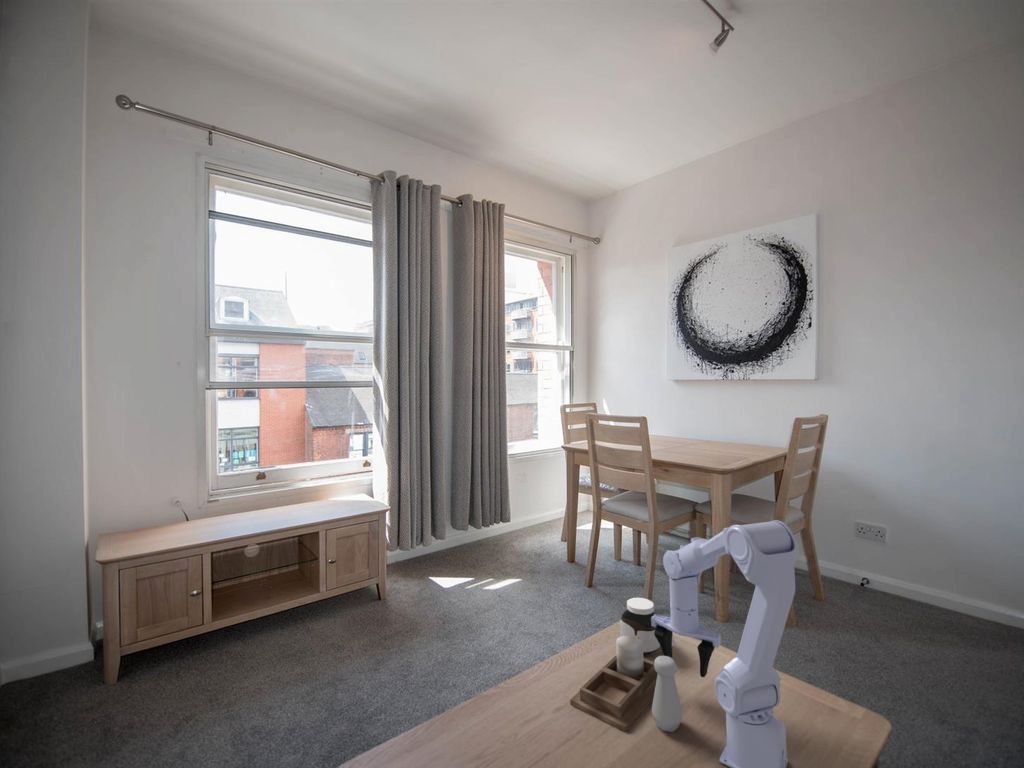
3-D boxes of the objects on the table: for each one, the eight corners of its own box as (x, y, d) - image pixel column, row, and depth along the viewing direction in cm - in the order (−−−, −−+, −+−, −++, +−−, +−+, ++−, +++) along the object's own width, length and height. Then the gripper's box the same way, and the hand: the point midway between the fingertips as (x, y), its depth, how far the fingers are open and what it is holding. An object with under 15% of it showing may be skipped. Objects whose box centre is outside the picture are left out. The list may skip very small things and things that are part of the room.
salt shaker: (684, 737, 90) (682, 669, 90) (653, 733, 91) (651, 666, 92) (679, 716, 96) (677, 652, 96) (650, 713, 97) (649, 650, 97)
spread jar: (616, 646, 123) (615, 601, 123) (641, 630, 130) (639, 588, 130) (657, 665, 114) (655, 617, 114) (681, 648, 121) (679, 602, 121)
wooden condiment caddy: (668, 680, 108) (667, 641, 108) (625, 732, 92) (624, 686, 92) (617, 660, 116) (616, 623, 116) (570, 704, 100) (569, 662, 101)
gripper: (724, 608, 100) (726, 672, 100) (659, 590, 110) (661, 648, 110) (713, 620, 95) (715, 688, 95) (646, 601, 104) (648, 662, 104)
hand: (685, 668), depth 102 cm, fingers open, 7 cm apart
